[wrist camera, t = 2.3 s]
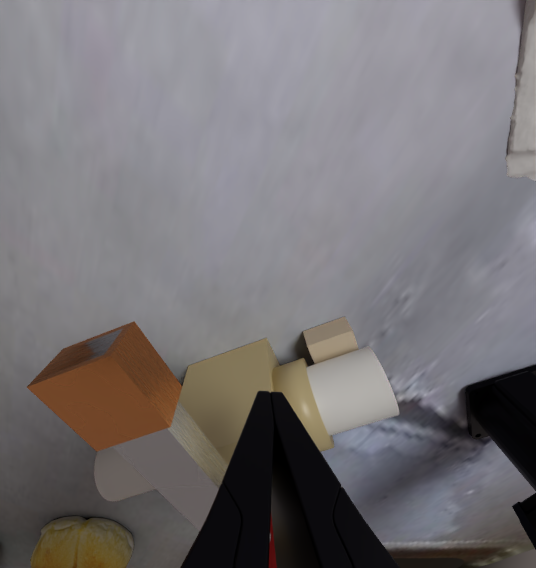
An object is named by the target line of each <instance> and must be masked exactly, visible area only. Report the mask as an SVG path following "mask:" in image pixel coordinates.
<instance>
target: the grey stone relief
mask: <svg viewBox="0 0 536 568" xmlns="http://www.w3.org/2000/svg"><path fill="white" fill-rule="evenodd" d="M515 78H516V87H515V102H514V108H513V113H512V116H511V117H510V119H511V129H510V135H509V139H508V142H509V144H508V145H509V146H508V154H507V156H506V158H505V160H506V161H507V167H508V172H507V176H508V177H515V178H520V177H523V176H526V177H528V178H530V179H533V180H534V181H536V0H526V5H525V11H524V20H523V30H522V37H521V48H520V54H519V63H518V70H517V73H516V75H515Z"/></svg>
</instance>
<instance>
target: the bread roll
mask: <svg viewBox="0 0 536 568" xmlns="http://www.w3.org/2000/svg"><path fill="white" fill-rule="evenodd" d="M133 548H134V540H133V537H132V535H131V533H130V532H129V531H128V530H127V529H126V528H125V527H123V526H122V525H120V524H119V523H117V522H115V521H112V520H110V519H105V518H97V517H95V518H90V519H88V520H86V519H85V518H83V517H81V516H68V517H62V518H59V519H56V520H53V521H51V522H50V523H48V524H47V525H45V526H44V527H43V528H42V530H41V536H40V539H39V541H38V543H37V545H36V547H35V549H34V551H33V553H32V557H31V559H30V561H31V568H126V566H127V564H128V562H129V560H130V558H131V556H132V552H133Z"/></svg>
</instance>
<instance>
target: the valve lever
mask: <svg viewBox="0 0 536 568" xmlns="http://www.w3.org/2000/svg"><path fill="white" fill-rule="evenodd" d="M27 388H28V389H29V390H30V391H31V392H33V393H34V394H35V395H36V396H37V397H38V398H39V399H40V400H41V401H42V402H43V403H44V404H46V405H47V406H48V407H49V408H50V409H51V410H52V411H53V412H54V413H55V414H56V415H58V416H59V417H60V418H61V419H62V420H63V421H64V422H65V423H66V424H67V425H68V426H69V427H71V428H72V429H73V430H74V431H75V432H76V433H77V434H78V435H79V436H80V437H81V438H83V439H84V440H85V441H86V442H87V443H88V444H89V445H90V446H91V447H92V448H93V449H94V450H96V451H100V450H103V449H106V448H109V447H113V448H114V449H115V450H116V451H117V452H118V453H119V454H120V455H121V456H122V457H123V458H124V459H125V460H126V461H127V462H128V463H129V464H130V465H131V466H133V467H134V468H135V469H136V470H137V471H138V472H139V473H140V474H141V475H142V476H143V477H144V478H145V479H146V480H147V481H148V482H149V483H150V484H151V485H152V486H153V487H154V488H155V489H156V490H157V491H158V492H159V493H160V494H161V495H162V496H163V497H165V498H166V499H167V500H168V501H169V502H170V503H171V504H172V505H173V506H174V507H175V508H176V509H177V510H178V511H179V512H180V513H181V514H182V515H183V516H184V517H185V518H186V519H187V520H188V521H189V522H190V523H191V524H192V525H193V526H194V527H195V528H197V529H198V530H199V531H200V530H201V528H202V526H203V524H204V522H205V520H206V518H207V516H208V513H209V511H210V509H211V506H212V504H213V502H214V499H215V497H216V495H217V492H218V490H219V487H220V485H221V484H222V480H223V477H224V475H225V472H226V470H227V467H228V464H227V463H226V462H225V460H224V459H223V458H222V456H221V455H220V454H219V453H218V451H217V450H216V449H215V447H214V446H213V445H212V443H211V442H210V441H209V440H208V438H207V437H206V436H205V434H204V433H203V432H202V430H201V429H200V428H199V426H198V425H197V424H196V423H195V421H194V420H193V419H192V417H191V416H190V415H189V413H188V412H187V411H186V410H185V408H184V407H183V406H182V404H181V403H180V402H179V396H180V393H181V389H182V386H181V384H180V383H179V381H178V380H177V379H176V377H175V376H174V375H173V373H172V372H171V371H170V369H169V368H168V366H167V365H166V364H165V362H164V361H163V360H162V358H161V357H160V356H159V354H158V353H157V351H156V350H155V349H154V347H153V346H152V345H151V343H150V342H149V341H148V339H147V338H146V337H145V335H144V334H143V332H142V331H141V330H140V328H139V327H138V326H137V324H136V323H135V322H131V323H129V324H126V325H124V326H121V327H118V328H116V329H113V330H111V331H108V332H105V333H103V334H100V335H98V336H95V337H92V338H90V339H87V340H85V341H82V342H79V343H77V344H74V345H72V346H69V347H67V348H64V349H63V350H62V351H61V352H60V353H59V354H58V355H57V356H56V357H55V358H54V359H53V360H52V361H51V362H50V363H49V364H48V365H47V366H46V367H45V368H44V369H43V370H42V372H41V373H40V374H39V375H38V376H37V377H36V378H35V379H34V380H33V381H32V382H31V383H30V384H29V385H28V386H27Z"/></svg>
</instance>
